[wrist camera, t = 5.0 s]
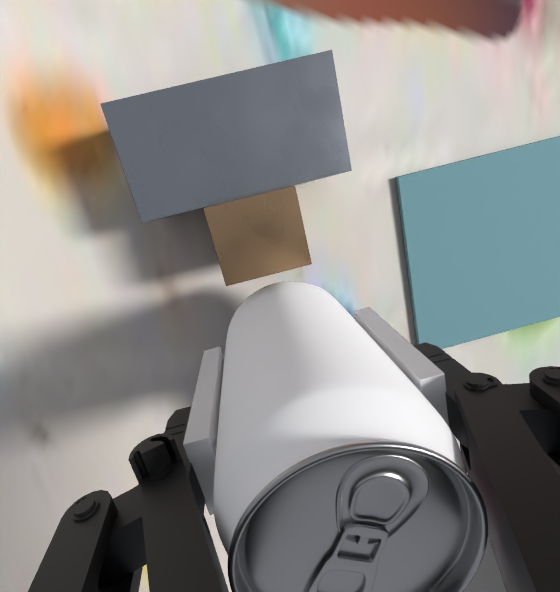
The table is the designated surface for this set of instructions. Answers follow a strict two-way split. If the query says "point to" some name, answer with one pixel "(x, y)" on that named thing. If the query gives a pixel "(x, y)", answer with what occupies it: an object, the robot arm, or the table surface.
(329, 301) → the can
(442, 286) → the mat
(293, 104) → the vise
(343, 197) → the table surface
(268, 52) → the table surface
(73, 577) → the robot arm
